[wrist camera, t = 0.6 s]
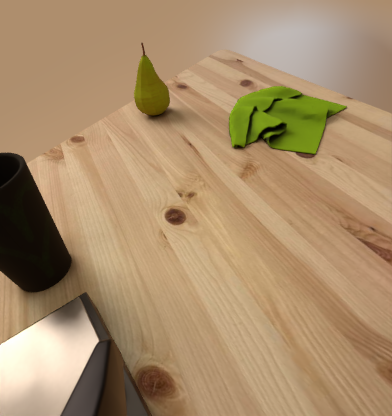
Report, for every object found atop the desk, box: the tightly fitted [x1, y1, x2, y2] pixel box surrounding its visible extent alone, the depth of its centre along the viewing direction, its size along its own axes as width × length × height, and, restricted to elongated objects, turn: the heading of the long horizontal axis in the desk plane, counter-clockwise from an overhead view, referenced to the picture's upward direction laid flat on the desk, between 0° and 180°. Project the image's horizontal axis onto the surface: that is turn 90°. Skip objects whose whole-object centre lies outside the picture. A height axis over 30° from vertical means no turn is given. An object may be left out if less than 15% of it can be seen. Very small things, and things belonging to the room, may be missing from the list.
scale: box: [0, 292, 152, 416], centre depth 22 cm, size 12×10×3 cm
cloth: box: [229, 86, 347, 154], centre depth 49 cm, size 20×22×2 cm
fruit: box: [134, 43, 170, 116], centre depth 54 cm, size 6×6×12 cm
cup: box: [0, 153, 71, 292], centre depth 29 cm, size 8×8×12 cm
